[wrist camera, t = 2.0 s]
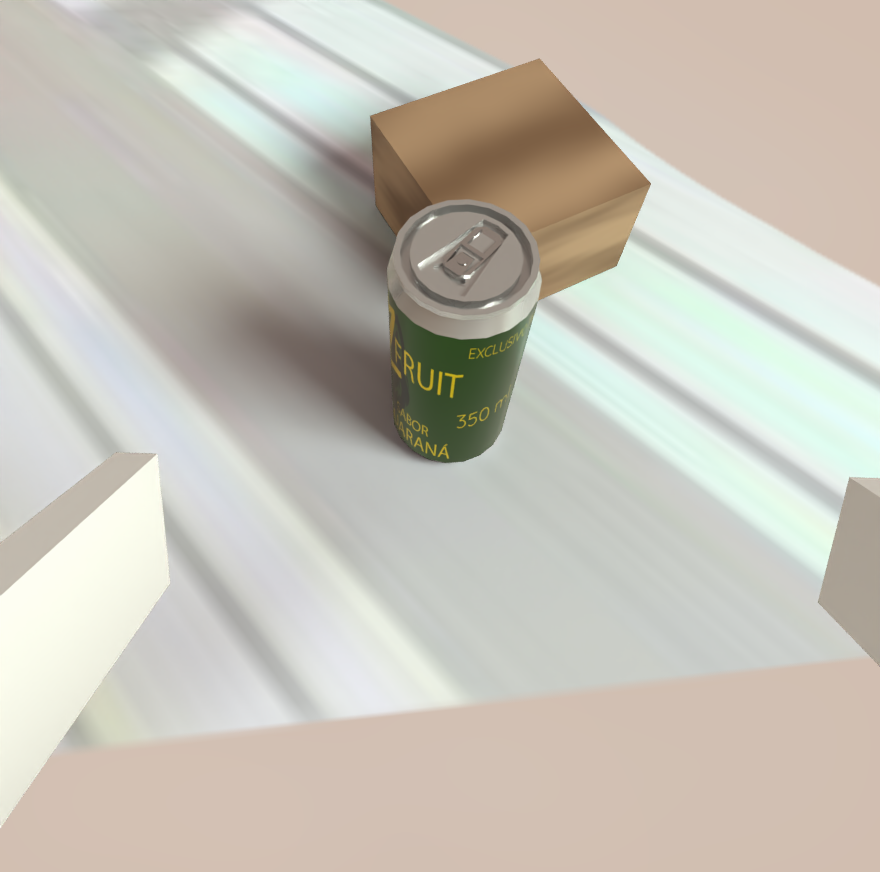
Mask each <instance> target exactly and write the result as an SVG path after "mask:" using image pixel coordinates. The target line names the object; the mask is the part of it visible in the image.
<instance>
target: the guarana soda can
mask: <svg viewBox="0 0 880 872" xmlns="http://www.w3.org/2000/svg"><path fill="white" fill-rule="evenodd" d="M539 265H540V256H539V251H538V246H537V242H536V240H535V239H534V237H533V235H532V234H531V232H530V231H529V229H528V228H527V226H526V225H525V224H524V223H522V222H521V221H520V220H519V219H518V218H517V217H515V216H514V215H513V214H512V213H511V212H508V211H506V210H504V209H502V208H500V207H498V206H495V205H493V204H491V203H486V202H481V201H475V200H470V199H466V200H447V201H444V202H440V203H437V204H434V205H430V206H427V207H426V208H424V209H422V210H421V211H419V212H418V213H416V214H415V215H413V216H412V217H410V218H409V219H408V221H407V222H406V223H405V224H404V226H403V227H402V228H401V229H400V231H399V232H398V235H397V238H396V241H395V244H394V247H393V251H392V254H391V257H390V260H389V263H388V267H387V285H388V307H389V330H390V352H391V375H392V397H393V414H394V424H395V426H396V428H397V431H398V433H399V435H400V437H401V439H402V440H403V441H404V442H405V443H406V444H407V445H408V446H409V447H410V448H411V449H412V450H413V451H415V452H416V453H418V454H420V455H422V456H424V457H425V458H427V459H430V460H434V461H438V462H443V463H452V462H463V461H466V460H469V459H471V458H474V457H476V456H479V455H481V454H482V453H483V452H484V451H486V450H487V449H488V448H489V447H491V446H492V445H493V444H494V442H495V440H496V439H497V437H498V435H499V434H500V432H501V430H502V427H503V423H504V420H505V416H506V412H507V409H508V405H509V402H510V398H511V395H512V391H513V388H514V384H515V380H516V377H517V373H518V370H519V366H520V363H521V359H522V356H523V352H524V348H525V345H526V341H527V338H528V334H529V331H530V327H531V324H532V320H533V316H534V313H535V309H536V306H537V302H538V298H539V293H540V288H541V282H542V278H541V273H540V268H539Z"/></svg>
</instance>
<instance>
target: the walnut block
mask: <svg viewBox="0 0 880 872" xmlns="http://www.w3.org/2000/svg"><path fill="white" fill-rule="evenodd" d="M370 119H371V136H372V153H373V169H374V186H375V203H376V206H377V208H378V209H379V211H380V212H381V214H382V215H383V217H384V218H385V220H386V222H387V223H388V225H389V226H390V228H391V229H392V231H393V232H394V234H395V235H396V237H397V235H398V232H399V231H400V229H401V228H402V227H403V226H404V224H405V223H406V222H407V221H408V219H409V218H410V217H412V216H413V215H415V214H416V213H418V212H419V211H421V210H422V209H424V208H426V207H427V206H430V205H434V204H437V203H440V202H444V201H447V200H466V199H470V200H475V201H481V202H486V203H491V204H493V205H495V206H498V207H500V208H502V209H504V210H506V211H508V212H511V213H512V214H513V215H514V216H515V217H517V218H518V219H519V220H520V221H521V222H522V223H524V224H525V225H526V226H527V228H528V229H529V231H530V232H531V234H532V235H533V237H534V239H535V240H536V242H537V246H538V251H539V256H540V265H539V268H540V273H541V278H542V282H541V288H540V293H539V298H538V300H540V299H543V298H545V297H547V296H549V295H552V294H554V293H556V292H559V291H561V290H563V289H565V288H568V287H570V286H572V285H574V284H577V283H579V282H581V281H583V280H586V279H588V278H590V277H593V276H595V275H597V274H599V273H602V272H604V271H606V270H608V269H611V268H613V267H615V266H617V264H618V261H619V259H620V256H621V254H622V252H623V249H624V247H625V244H626V242H627V240H628V237H629V235H630V233H631V230H632V228H633V225H634V223H635V221H636V218H637V216H638V213H639V211H640V209H641V206H642V204H643V202H644V199H645V197H646V194H647V192H648V190H649V187H650V185H651V183H650V182H649V181H648V180H647V179H646V178H645V176H644V175H643V174H642V173H641V172H640V171H639V170H638V169H637V167H636V166H635V165H634V164H633V163H632V162H631V161H630V160H629V158H628V157H627V156H626V155H625V154H624V153H623V152H622V151H621V149H620V148H619V147H618V146H617V145H616V144H615V143H614V142H613V140H612V139H611V138H610V137H609V136H608V135H607V134H606V133H605V131H604V130H603V129H602V128H601V127H600V126H599V125H598V124H597V122H596V121H595V120H594V119H593V118H592V117H591V116H590V115H589V113H588V112H587V111H586V110H585V109H584V108H583V107H582V106H581V104H580V103H579V102H578V101H577V100H576V99H575V98H574V97H573V96H572V94H571V93H570V92H569V91H568V90H567V89H566V88H565V87H564V85H563V84H562V83H561V82H560V81H559V80H558V79H557V78H556V76H555V75H554V74H553V73H552V72H551V71H550V70H549V69H548V67H547V66H546V65H545V64H544V63H543V62H542V61H541V60H540V59H537V60H534V61H531V62H528V63H525V64H522V65H519V66H516V67H513V68H510V69H507V70H504V71H501V72H498V73H495V74H493V75H490V76H487V77H484V78H481V79H478V80H475V81H472V82H469V83H466V84H463V85H460V86H457V87H454V88H451V89H448V90H445V91H442V92H439V93H436V94H433V95H431V96H428V97H425V98H422V99H419V100H416V101H413V102H410V103H407V104H404V105H401V106H398V107H395V108H392V109H389V110H386V111H383V112H380V113H377V114H374V115H371V116H370Z"/></svg>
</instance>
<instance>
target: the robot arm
mask: <svg viewBox="0 0 880 872" xmlns="http://www.w3.org/2000/svg"><path fill="white" fill-rule="evenodd" d="M169 584H170V575H169V565H168V555H167V545H166V535H165V525H164V515H163V506H162V496H161V486H160V476H159V466H158V456H157V454H147V453H117V452H116V453H115V454H113V455H112V456H111V457H109V458H108V459H107V460H106V461H104V462H103V463H102V464H101V465H99V466H98V467H97V468H95V469H94V470H93V471H92V472H90V473H89V474H88V475H87V476H85V477H84V478H83V479H81V480H80V481H79V482H78V483H76V484H75V485H74V486H72V487H71V488H70V489H69V490H67V491H66V492H65V493H64V494H62V495H61V496H60V497H58V498H57V499H56V500H55V501H53V502H52V503H51V504H50V505H48V506H47V507H46V508H44V509H43V510H42V511H41V512H39V513H38V514H37V515H35V516H34V517H33V518H32V519H30V520H29V521H28V522H27V523H25V524H24V525H23V526H21V527H20V528H19V529H18V530H16V531H15V532H14V533H13V534H11V535H10V536H9V537H7V538H6V539H5V540H4V541H2V542H1V543H0V828H1V826H2V825H3V824H4V822H5V821H6V819H7V818H8V816H9V815H10V814H11V812H12V811H13V809H14V808H15V806H16V805H17V803H18V802H19V801H20V799H21V798H22V796H23V795H24V793H25V792H26V790H27V789H28V788H29V786H30V785H31V783H32V782H33V780H34V779H35V778H36V776H37V775H38V773H39V772H40V770H41V769H42V767H43V766H44V765H45V763H46V761H47V760H48V759H49V757H50V756H51V754H52V753H53V752H54V750H55V749H56V747H57V746H58V744H59V743H60V741H61V740H62V739H63V737H64V736H65V734H66V733H67V731H68V730H69V728H70V727H71V726H72V724H73V723H74V721H75V720H76V718H77V717H78V715H79V714H80V713H81V711H82V710H83V708H84V707H85V705H86V704H87V702H88V701H89V700H90V698H91V697H92V695H93V694H94V692H95V691H96V689H97V688H98V687H99V685H100V684H101V682H102V681H103V679H104V678H105V677H106V675H107V674H108V672H109V671H110V669H111V668H112V666H113V665H114V664H115V662H116V661H117V659H118V658H119V656H120V655H121V653H122V652H123V651H124V649H125V648H126V646H127V645H128V643H129V642H130V640H131V639H132V638H133V636H134V635H135V633H136V632H137V630H138V629H139V627H140V626H141V625H142V623H143V622H144V620H145V619H146V617H147V616H148V614H149V613H150V612H151V610H152V609H153V607H154V606H155V604H156V603H157V601H158V600H159V599H160V597H161V596H162V594H163V593H164V591H165V590H166V589H167V587H168V586H169ZM818 603H819V604H820V605H821V606H822V607H823V608H824V609H825V610H826V611H827V612H828V613H829V614H830V615H831V616H832V617H833V618H834V620H835V621H836V622H837V623H838V624H839V625H840V626H841V627H842V628H843V629H844V630H845V631H846V632H847V633H848V634H849V635H850V636H851V637H852V638H853V639H854V640H855V641H856V642H857V643H858V644H859V645H860V646H861V647H862V649H863V650H864V651H865V652H866V653H867V654H868V655H869V656H870V657H871V658H872V659H873V660H874V661H875V662H876V663H877V664H878V665H879V666H880V478H856V477H849V481H848V485H847V489H846V493H845V497H844V501H843V505H842V509H841V513H840V517H839V521H838V525H837V529H836V533H835V537H834V540H833V544H832V548H831V552H830V556H829V560H828V564H827V568H826V572H825V576H824V580H823V584H822V588H821V592H820V596H819V600H818Z"/></svg>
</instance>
